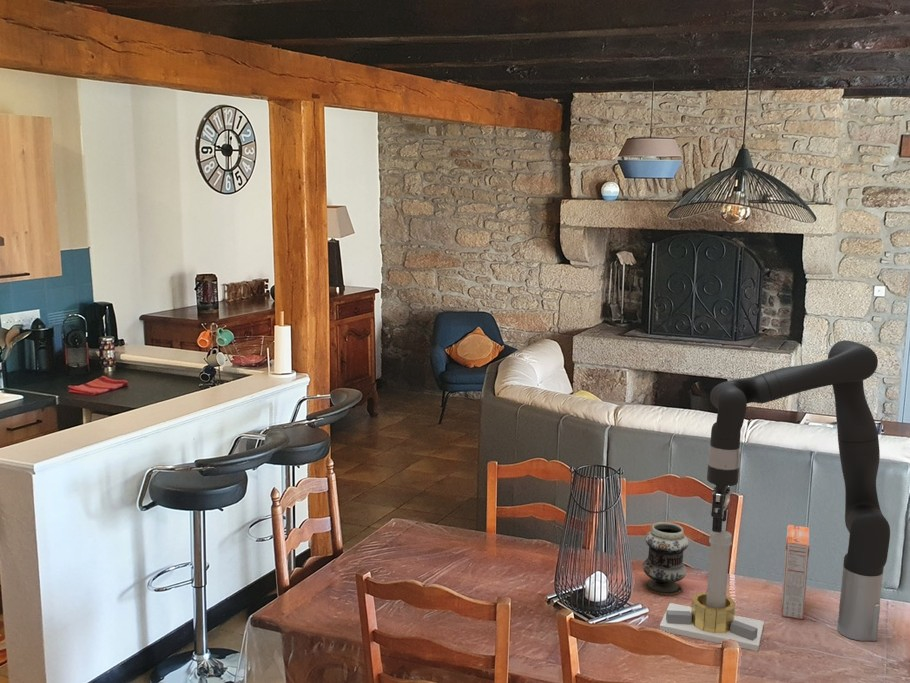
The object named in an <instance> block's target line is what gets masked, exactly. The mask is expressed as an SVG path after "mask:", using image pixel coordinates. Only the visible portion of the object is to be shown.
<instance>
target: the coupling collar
mask: <svg viewBox="0 0 910 683" xmlns="http://www.w3.org/2000/svg"><path fill="white" fill-rule="evenodd" d="M706 597H707V591H706V592H704V591H703V592H698V593H696V594H693V597H692V599H691V607H692V609H691V615H692V622H691V623H692V624H693V625H694V626H695V627H697V628H699V629H701V630H703V631H706V632H711V633H726V632H729V631H730V625H731V623H732V622H733V621H734V618H735V616H736V601H735V600H734V599H733V598H732V597H729V596H728V595H726V602H725V608H717V609H716V608H710V607H706Z"/></svg>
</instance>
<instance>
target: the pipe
mask: <svg viewBox="0 0 910 683" xmlns="http://www.w3.org/2000/svg"><path fill="white" fill-rule="evenodd" d="M707 511H708V512H709V513H710V514H711V513H712V510H709V509H708V510H707ZM732 537H733V535H732V533H731V532H729V531H727V530H722V531H721V532H720V533H718V532H713V531H712V530H711V531H710V533H709V539H708V543H709V544H710V545H709V546H710V547H709V555H708V556H709V557H708V558H709V559H708V561H709V562H708V573H707V574H708V575H707V586H706V592H707V597H706V607H710V608H716V609H717V608H725V602H726V596H727V587H728V574H729V572H728V571H729V563H730V548H731V546H732V544H733V542H732Z"/></svg>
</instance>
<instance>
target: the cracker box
mask: <svg viewBox="0 0 910 683" xmlns="http://www.w3.org/2000/svg"><path fill="white" fill-rule="evenodd" d="M786 529H787V530H786V536H785V537H786V538H785V547H784V548H785V549H784V561H783V562H784V563H783V573H782V574H783V575H782V593H781V594H782V595H781V617H785V618H790V619H797V620H805V608H806V595H807V594H806V593H807V584H808V582H807V581H808V571H809V570H808V569H809V559H810V558H809V557H810V556H809V555H810V527H807V526H799V525H793V524H788V525H787V528H786Z"/></svg>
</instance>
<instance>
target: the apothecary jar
mask: <svg viewBox="0 0 910 683" xmlns="http://www.w3.org/2000/svg"><path fill="white" fill-rule="evenodd" d="M644 541H645V544H646V545H647V546H648V555H647V558H646V559H645V560H644V562H643V564H642V570H643V572H644V573H645V575H646V576H647V577H649V579H650V580H648V581H647V582H645V588H646V590H648V591H649V592H652V593H654V594H657V595H661V596H676V595H678V594H680V592H681V591H682V587H681V585H680V584H679V583H677V582H680V581H682V580H683V579H684V578H685V577H686V576H687V572H688V571H687V567H686V565H685V564H684V551H685V550H686V549H688V547H689V539H688V537H687V536H686V535H685V534H684V528H683V527H682V526H680V525H679V524H677V523H674V522H667V521H659V522H656V523H654V524H652V526H651V530H650V531H648V532H647V533H646V535H645V538H644Z"/></svg>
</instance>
